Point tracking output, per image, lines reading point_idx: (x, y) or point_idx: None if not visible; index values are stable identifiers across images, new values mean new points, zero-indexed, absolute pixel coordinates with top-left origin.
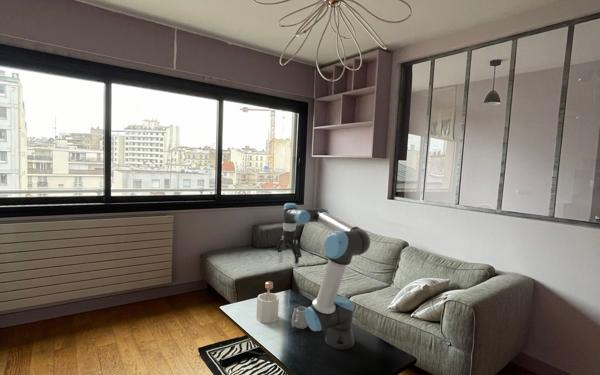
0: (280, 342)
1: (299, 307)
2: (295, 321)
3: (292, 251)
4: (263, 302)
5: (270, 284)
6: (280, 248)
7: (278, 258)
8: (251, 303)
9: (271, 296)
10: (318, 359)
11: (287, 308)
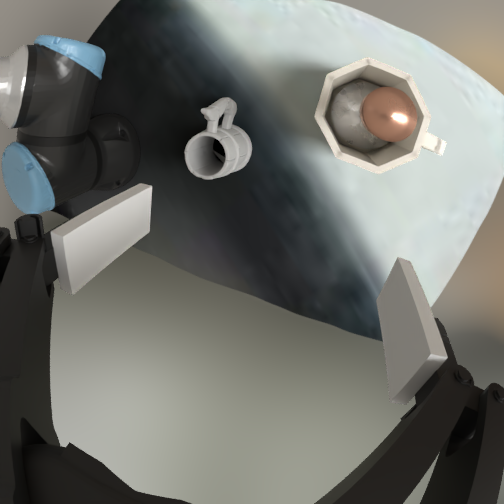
0: (218, 23)
1: (224, 163)
2: (226, 118)
3: (26, 307)
4: (360, 60)
5: (367, 97)
6: (423, 426)
7: (420, 293)
8: (473, 190)
9: (384, 160)
10: (108, 51)
11: (345, 230)
